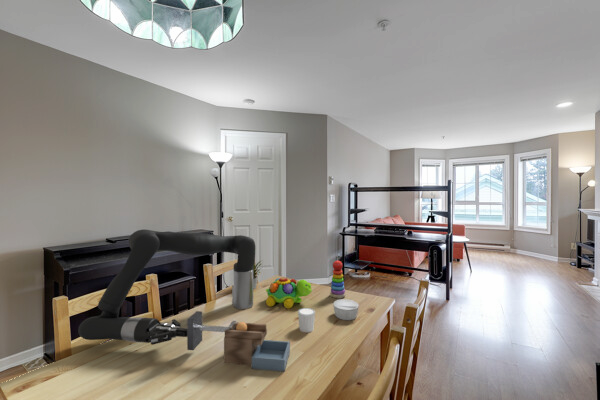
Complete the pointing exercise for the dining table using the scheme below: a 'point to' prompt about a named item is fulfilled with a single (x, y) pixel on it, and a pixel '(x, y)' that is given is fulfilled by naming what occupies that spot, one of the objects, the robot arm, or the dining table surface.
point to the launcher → (243, 343)
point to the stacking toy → (337, 281)
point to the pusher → (201, 329)
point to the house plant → (255, 274)
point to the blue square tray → (271, 355)
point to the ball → (241, 326)
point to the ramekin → (346, 309)
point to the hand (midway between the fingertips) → (188, 332)
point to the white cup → (306, 319)
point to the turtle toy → (287, 292)
